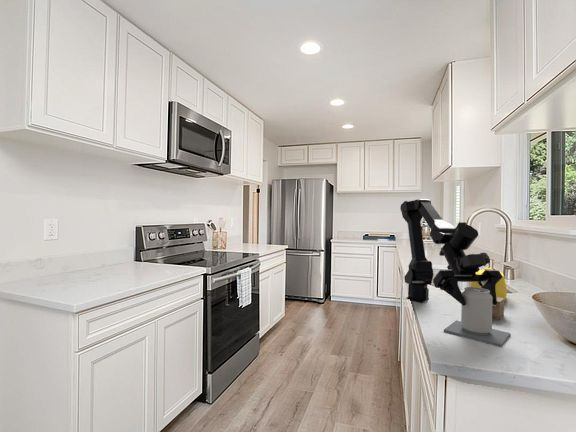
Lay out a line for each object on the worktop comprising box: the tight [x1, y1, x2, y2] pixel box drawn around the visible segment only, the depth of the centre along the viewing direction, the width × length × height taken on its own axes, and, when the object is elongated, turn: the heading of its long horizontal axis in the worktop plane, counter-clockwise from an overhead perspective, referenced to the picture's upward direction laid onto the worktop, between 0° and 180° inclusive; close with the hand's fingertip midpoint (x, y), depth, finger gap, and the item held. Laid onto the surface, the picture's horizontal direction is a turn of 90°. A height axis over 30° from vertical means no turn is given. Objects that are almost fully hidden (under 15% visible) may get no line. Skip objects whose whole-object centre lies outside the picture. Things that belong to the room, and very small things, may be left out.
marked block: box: [492, 297, 505, 321], centre depth 106 cm, size 6×6×6 cm
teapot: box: [470, 267, 507, 303], centre depth 130 cm, size 20×12×12 cm, turn 149°
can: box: [460, 286, 493, 335], centre depth 91 cm, size 8×8×12 cm
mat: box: [443, 319, 511, 348], centre depth 91 cm, size 14×11×1 cm
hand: (480, 304), depth 89 cm, fingers open, 9 cm apart
